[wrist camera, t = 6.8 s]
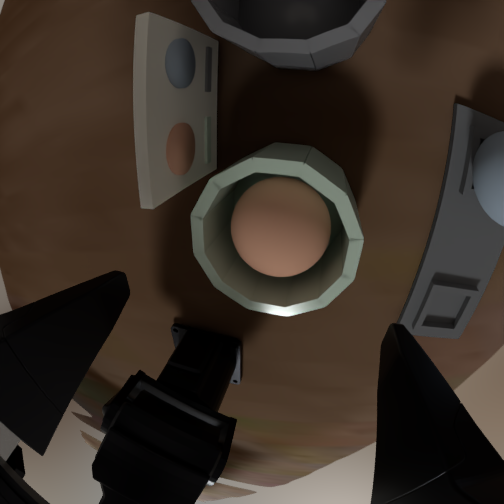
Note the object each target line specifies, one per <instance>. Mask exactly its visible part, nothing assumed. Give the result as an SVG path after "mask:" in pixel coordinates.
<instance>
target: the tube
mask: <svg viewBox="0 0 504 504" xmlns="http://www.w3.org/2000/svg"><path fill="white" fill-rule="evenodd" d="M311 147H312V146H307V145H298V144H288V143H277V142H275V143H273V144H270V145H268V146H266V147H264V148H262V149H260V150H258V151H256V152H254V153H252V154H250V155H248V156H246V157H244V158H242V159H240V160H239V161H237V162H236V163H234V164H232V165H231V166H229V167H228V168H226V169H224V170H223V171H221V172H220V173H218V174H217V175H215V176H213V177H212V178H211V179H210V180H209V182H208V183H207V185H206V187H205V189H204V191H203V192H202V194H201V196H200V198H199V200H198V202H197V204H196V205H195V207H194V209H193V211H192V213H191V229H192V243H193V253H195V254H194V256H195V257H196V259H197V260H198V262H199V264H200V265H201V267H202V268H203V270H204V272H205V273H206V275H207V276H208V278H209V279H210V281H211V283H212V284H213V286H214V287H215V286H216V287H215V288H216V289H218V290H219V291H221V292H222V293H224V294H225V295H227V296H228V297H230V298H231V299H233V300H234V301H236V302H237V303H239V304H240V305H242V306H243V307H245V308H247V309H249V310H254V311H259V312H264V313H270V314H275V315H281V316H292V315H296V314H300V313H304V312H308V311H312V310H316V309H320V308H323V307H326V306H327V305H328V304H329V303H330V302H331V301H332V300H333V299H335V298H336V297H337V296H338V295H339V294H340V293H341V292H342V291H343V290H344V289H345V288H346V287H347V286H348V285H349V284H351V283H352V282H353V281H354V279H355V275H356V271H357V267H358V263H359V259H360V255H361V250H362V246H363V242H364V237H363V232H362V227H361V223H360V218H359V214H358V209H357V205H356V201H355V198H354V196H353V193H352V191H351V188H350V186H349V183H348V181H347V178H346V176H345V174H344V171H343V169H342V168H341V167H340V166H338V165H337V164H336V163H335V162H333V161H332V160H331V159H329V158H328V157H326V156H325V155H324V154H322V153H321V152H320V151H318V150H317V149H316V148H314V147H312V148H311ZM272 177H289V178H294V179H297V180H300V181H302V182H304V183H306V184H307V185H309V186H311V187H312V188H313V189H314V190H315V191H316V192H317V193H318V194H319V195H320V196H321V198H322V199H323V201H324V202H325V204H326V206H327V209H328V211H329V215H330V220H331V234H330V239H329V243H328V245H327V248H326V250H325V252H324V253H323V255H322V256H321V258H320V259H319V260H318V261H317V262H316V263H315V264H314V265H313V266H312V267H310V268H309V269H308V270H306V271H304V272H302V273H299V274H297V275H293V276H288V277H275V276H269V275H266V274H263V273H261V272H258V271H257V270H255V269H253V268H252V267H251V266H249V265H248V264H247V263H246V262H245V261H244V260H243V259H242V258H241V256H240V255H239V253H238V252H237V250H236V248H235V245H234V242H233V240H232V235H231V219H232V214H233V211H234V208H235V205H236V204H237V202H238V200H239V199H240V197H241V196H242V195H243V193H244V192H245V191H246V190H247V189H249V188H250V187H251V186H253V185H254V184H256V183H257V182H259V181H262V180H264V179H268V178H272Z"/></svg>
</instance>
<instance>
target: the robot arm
mask: <svg viewBox="0 0 504 504" xmlns="http://www.w3.org/2000/svg"><path fill="white" fill-rule="evenodd" d="M129 296H130V289H129V285H128V281H127V277H126V274H125V273H124V272H121V271H116V270H115V271H112V272H109V273H106V274H104V275H101V276H99V277H96V278H93V279H91V280H88V281H86V282H83V283H80V284H78V285H75V286H73V287H70V288H68V289H65V290H63V291H60V292H58V293H55V294H53V295H50V296H48V297H45V298H43V299H40V300H38V301H36V302H33V303H30V304H28V305H25V306H23V307H20V308H18V309H15V310H12V311H10V312H7V313H4V314H1V315H0V504H50V503H48V502H47V501H46V500H45V499H44V498H43V497H41V496H40V495H39V494H38V493H37V492H36V491H35V490H33V488H31V487H30V486H29V485H28V484H27V483H26V482H25V481H24V480H23V477H24V475H25V469H24V462H23V454H22V448H21V447H20V446H19V445H18V443H19V442H20V440H22V441H23V442H24V443H26V444H27V445H28V446H29V447H31V448H32V449H33V450H35V451H36V452H37V453H39V454H40V455H41V456H43V455H44V453H45V451H46V449H47V447H48V445H49V443H50V441H51V439H52V437H53V434H54V432H55V430H56V428H57V426H58V424H59V422H60V420H61V419H62V417H63V414H64V412H65V411H66V409H67V407H68V405H69V403H70V401H71V399H72V398H73V396H74V394H75V392H76V390H77V388H78V387H79V385H80V383H81V381H82V380H83V378H84V376H85V374H86V373H87V371H88V369H89V367H90V366H91V364H92V362H93V361H94V359H95V357H96V356H97V354H98V352H99V351H100V349H101V347H102V346H103V344H104V342H105V341H106V339H107V338H108V336H109V334H110V333H111V331H112V329H113V327H114V325H115V324H116V322H117V320H118V318H119V316H120V314H121V312H122V310H123V308H124V306H125V304H126V302H127V300H128V298H129ZM171 332H172V336H173V341H174V345H175V350H174V352H173V354H172V355H171V357H170V358H169V360H168V362H167V364H166V366H165V367H164V369H163V370H162V372H161V374H160V375H159V377H158V379H157V380H154V379H153V378H151V377H149V376H147V375H146V373H144V372H143V371H141V370H139V371H138V372H137V374H136V375H131V376H130V377H129V379H128V380H127V382H126V383H125V385H124V386H123V387H122V389H121V390H120V391H119V392H118V393H117V394H116V395H114V396H113V397H112V398H111V399H110V400H109V401H108V402H107V403H106V404H105V405H104V406H103V408H102V411H103V415H104V418H103V422H102V425H101V431H102V432H103V433H105V434H106V435H105V437H104V439H103V441H102V443H101V445H100V447H99V450H98V452H97V454H96V456H95V460H94V462H93V464H92V473H93V478H94V479H95V480H97V481H98V482H100V484H101V488H102V491H103V496H102V498H101V500H100V502H99V504H195V502H196V500H197V499H198V497H199V496H200V494H201V492H202V491H203V489H204V488H205V486H206V485H208V486H212V485H213V484H214V483H215V482H216V481H217V480H218V478H219V477H220V475H221V473H222V471H223V469H224V467H225V465H226V462H227V459H228V456H229V452H230V448H231V443H232V439H233V435H234V431H235V426H236V422H237V419H235V418H232V417H227V416H225V415H223V414H221V413H218V410H219V408H220V405H221V403H222V400H223V398H224V395H225V393H226V391H227V388H228V386H229V383H233V384H240V382H241V341H240V340H238V339H236V338H232V337H227V336H223V335H219V334H215V333H211V332H207V331H203V330H199V329H195V328H191V327H187V326H184V325H180V324H176V323H175V324H173V325H172V327H171ZM371 504H504V460H503V459H502V458H501V456H500V455H499V454H498V452H497V451H496V450H495V448H494V447H493V446H492V445H491V443H490V442H489V441H488V439H487V438H486V437H485V435H484V434H483V433H482V431H481V430H480V429H479V427H478V426H477V425H476V423H475V422H474V420H473V419H472V417H471V416H470V415H469V413H468V412H467V410H466V409H465V407H464V406H463V404H462V403H460V400H459V398H458V397H457V396H456V394H455V393H454V391H453V390H452V388H451V387H450V385H449V384H448V383H447V381H446V380H445V378H444V377H443V376H442V374H441V373H440V372H439V370H438V369H437V367H436V366H435V365H434V363H433V362H432V361H431V359H430V358H429V357H428V355H427V354H426V353H425V351H424V350H423V349H422V347H421V346H420V345H419V343H418V342H417V341H416V340H415V338H414V337H413V336H412V334H411V333H410V332H409V331H408V329H407V328H406V327H405V326H404V325H403V324H397V323H392V324H390V326H389V328H388V330H387V332H386V334H385V337H384V339H383V341H382V344H381V351H380V366H379V378H378V389H377V439H376V458H375V470H374V481H373V490H372V498H371Z"/></svg>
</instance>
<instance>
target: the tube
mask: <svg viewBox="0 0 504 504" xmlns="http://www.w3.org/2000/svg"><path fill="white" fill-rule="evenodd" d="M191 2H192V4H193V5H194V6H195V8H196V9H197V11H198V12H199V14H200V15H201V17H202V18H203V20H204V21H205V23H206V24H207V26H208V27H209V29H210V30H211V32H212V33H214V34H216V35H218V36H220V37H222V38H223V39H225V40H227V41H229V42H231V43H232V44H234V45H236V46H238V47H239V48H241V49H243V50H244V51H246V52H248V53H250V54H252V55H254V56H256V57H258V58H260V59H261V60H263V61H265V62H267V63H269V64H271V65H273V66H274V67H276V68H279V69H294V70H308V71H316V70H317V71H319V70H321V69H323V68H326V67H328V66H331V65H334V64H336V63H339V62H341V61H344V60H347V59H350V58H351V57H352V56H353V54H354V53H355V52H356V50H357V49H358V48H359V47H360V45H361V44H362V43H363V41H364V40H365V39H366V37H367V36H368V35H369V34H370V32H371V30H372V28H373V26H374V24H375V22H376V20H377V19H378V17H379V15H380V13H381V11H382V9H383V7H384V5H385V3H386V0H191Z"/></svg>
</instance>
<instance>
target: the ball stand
mask: <svg viewBox="0 0 504 504" xmlns="http://www.w3.org/2000/svg"><path fill="white" fill-rule="evenodd" d="M501 131H504V122H501V121H499V120H497V119H495V118H493V117H490V116H488V115H486V114H483V113H481V112H478V111H476V110H473V109H471V108H468V107H466V106H463V105H460V104H457V103H454V110H453V120H452V129H451V137H450V144H449V151H448V157H447V163H446V168H445V173H444V178H443V183H442V188H441V192H440V197H439V201H438V205H437V209H436V213H435V217H434V221H433V224H432V228H431V231H430V235H429V238H428V241H427V245H426V248H425V251H424V254H423V257H422V260H421V263H420V266H419V269H418V272H417V274H416V277H415V280H414V283H413V285H412V288H411V290H410V293H409V296H408V298H407V301H406V303H405V305H404V308H403V310H402V313H401V315H400V317H399V319H398V322H397V324H403V325H404V326H405V327H406V328H407V329H408V331H409V332H410V333H411V334H412V335H418V336H428V337H440V338H452V339H459V337H460V336H461V334H462V332H463V331H464V329H465V327H466V325H467V324H468V322H469V320H470V318H471V316H472V314H473V313H474V311H475V309H476V307H477V305H478V303H479V301H480V299H481V297H482V295H483V293H484V291H485V289H486V287H487V284H488V282H489V280H490V278H491V275H492V273H493V271H494V269H495V266H496V264H497V261H498V259H499V256H500V254H501V251H502V248H503V246H504V226H502V225H500V224H498V223H497V222H495V221H494V220H493V219H492V218H490V217H489V215H488V214H487V213H486V212H485V211H484V209H483V208H482V206H481V204H480V203H479V201H478V198H477V196H476V193H475V190H474V185H473V177H472V169H473V162H474V158H475V155H476V152H477V150H478V148H479V147H480V145H481V144H482V143H483V142H484V140H485V139H487V138H488V137H489V136H491V135H492V134H494V133H497V132H501Z"/></svg>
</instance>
